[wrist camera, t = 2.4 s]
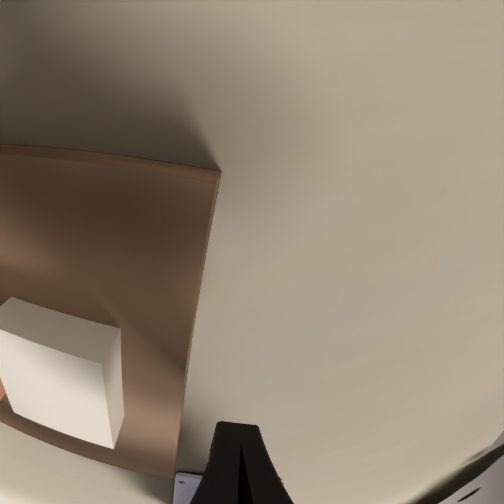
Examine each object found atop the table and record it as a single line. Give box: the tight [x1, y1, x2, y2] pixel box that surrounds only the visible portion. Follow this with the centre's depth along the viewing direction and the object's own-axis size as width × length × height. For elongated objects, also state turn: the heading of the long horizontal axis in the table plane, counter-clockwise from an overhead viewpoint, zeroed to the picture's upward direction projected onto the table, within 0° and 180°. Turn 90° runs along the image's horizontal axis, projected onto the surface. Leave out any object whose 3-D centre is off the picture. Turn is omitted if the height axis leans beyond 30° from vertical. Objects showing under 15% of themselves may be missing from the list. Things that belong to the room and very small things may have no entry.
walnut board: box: [0, 144, 222, 479], centre depth 12 cm, size 16×15×3 cm
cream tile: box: [0, 297, 124, 449], centre depth 10 cm, size 5×5×2 cm
